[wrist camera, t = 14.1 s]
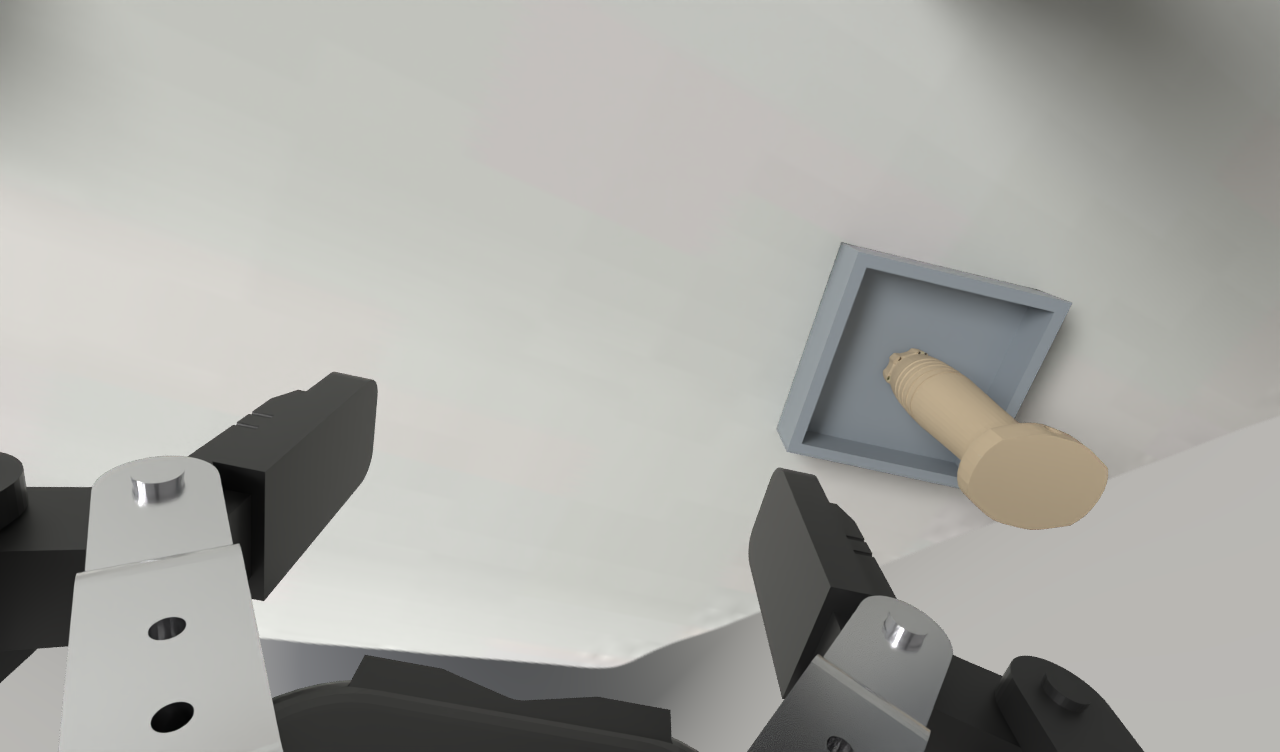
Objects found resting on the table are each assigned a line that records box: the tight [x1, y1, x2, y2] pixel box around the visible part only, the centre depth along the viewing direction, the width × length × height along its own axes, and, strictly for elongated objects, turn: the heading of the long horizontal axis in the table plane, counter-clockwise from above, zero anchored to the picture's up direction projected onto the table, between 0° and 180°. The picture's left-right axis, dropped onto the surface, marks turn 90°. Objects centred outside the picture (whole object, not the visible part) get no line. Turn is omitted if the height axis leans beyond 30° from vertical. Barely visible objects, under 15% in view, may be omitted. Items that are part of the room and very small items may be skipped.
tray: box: [777, 242, 1072, 488], centre depth 42 cm, size 14×14×4 cm
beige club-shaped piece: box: [883, 348, 1108, 530], centre depth 35 cm, size 5×6×15 cm
